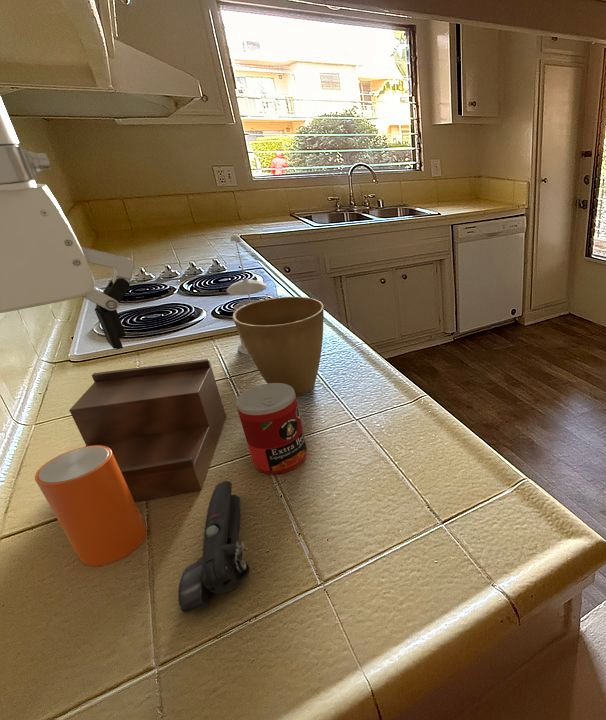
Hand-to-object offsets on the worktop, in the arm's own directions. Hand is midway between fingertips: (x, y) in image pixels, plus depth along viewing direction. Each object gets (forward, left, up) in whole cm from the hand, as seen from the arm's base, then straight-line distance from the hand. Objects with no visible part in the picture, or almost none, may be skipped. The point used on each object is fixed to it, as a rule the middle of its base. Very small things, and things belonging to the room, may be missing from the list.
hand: (56, 360), depth 45 cm
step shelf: (-3, +18, -24) cm, 30 cm away
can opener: (+10, -4, -25) cm, 27 cm away
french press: (+8, +57, -25) cm, 62 cm away
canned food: (+15, +12, -25) cm, 31 cm away
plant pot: (+16, +34, -25) cm, 45 cm away
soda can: (-3, +1, -24) cm, 25 cm away
